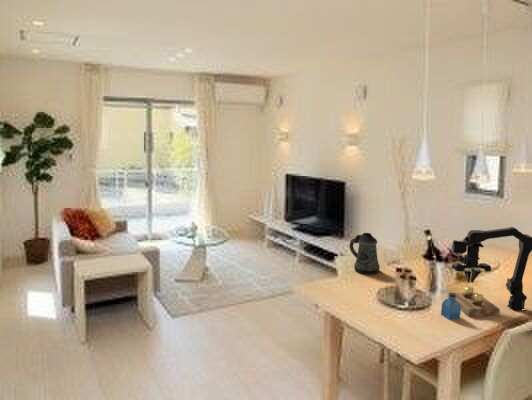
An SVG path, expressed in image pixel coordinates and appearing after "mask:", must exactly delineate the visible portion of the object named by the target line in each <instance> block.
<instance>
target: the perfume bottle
mask: <svg viewBox="0 0 532 400" xmlns="http://www.w3.org/2000/svg"><path fill="white" fill-rule="evenodd" d="M455 293H456V292H448V296H447V297H448V298H449V299H448V298H445V299H444V300H443V301H442V303H441V311H440V315H441V316H442V317H444V318H445V319H447V320H459V319H461V312H462V311H461V306H460V304H459V302H458V301H456V300H455V299H456V296H455V295H456V294H455Z"/></svg>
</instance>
